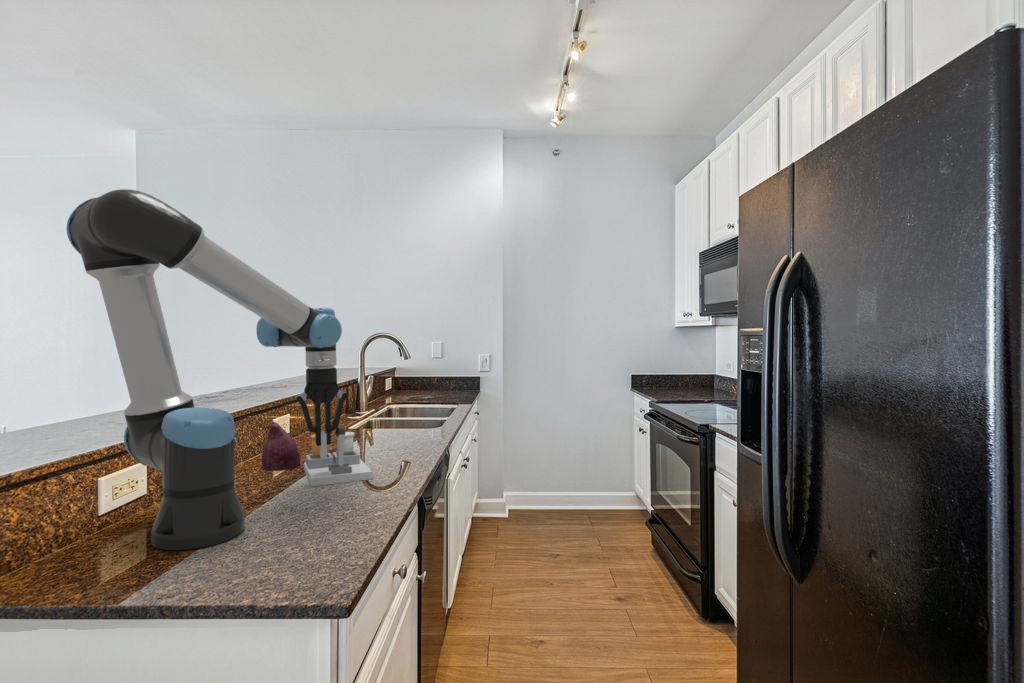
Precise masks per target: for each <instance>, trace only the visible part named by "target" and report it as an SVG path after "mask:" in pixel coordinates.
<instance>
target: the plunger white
mask: <svg viewBox="0 0 1024 683" xmlns="http://www.w3.org/2000/svg"><path fill="white" fill-rule="evenodd" d="M354 436H355V432H354V431H346V433H345V435H344V453H345V452H352V451H354Z"/></svg>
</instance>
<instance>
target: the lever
mask: <svg viewBox="0 0 1024 683" xmlns="http://www.w3.org/2000/svg"><path fill="white" fill-rule="evenodd" d="M346 432H347V431H346V429H345V428H344V427H341V426H340V427H338V429H335V430H334V434H335V436H336V452H337V468H339V467H343V457H344V435H345V433H346Z"/></svg>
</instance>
